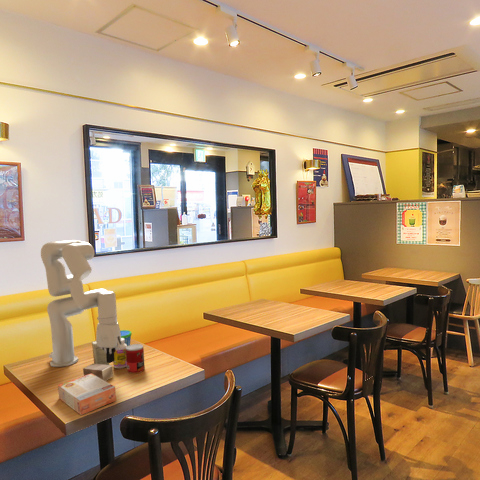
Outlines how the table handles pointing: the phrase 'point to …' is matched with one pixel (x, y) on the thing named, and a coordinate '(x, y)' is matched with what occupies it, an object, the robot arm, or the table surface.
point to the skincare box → (99, 355)
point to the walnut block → (99, 371)
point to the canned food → (135, 358)
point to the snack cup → (126, 336)
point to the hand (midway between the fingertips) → (110, 361)
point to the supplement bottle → (120, 356)
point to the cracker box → (86, 393)
